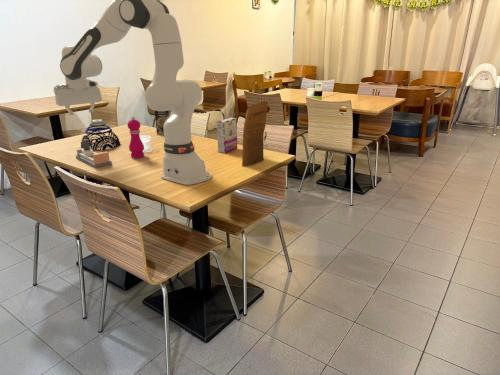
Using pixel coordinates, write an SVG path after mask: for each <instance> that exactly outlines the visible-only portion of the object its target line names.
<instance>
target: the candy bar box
mask: <svg viewBox="0 0 500 375" xmlns="http://www.w3.org/2000/svg"><path fill="white" fill-rule="evenodd" d="M237 124H238V122H237V118H235V117H227V118H223V119H220V120H217V121H216V133H217V135H216V136H217V152H218V153H220V154H228V153H229V152H232V151H235V150H237V149H238V129H237V128H238V127H237V126H238V125H237Z"/></svg>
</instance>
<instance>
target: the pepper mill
mask: <svg viewBox="0 0 500 375" xmlns="http://www.w3.org/2000/svg"><path fill="white" fill-rule="evenodd" d="M130 119H131V120H129V121H128V122H127V128H128V129H129V134H130V143H129V145H128V150H129V152H130V158H133V159H141V158H144V157H145V153H144V152H143V151H144V150H145V145H144V143H143V141H142V139H141V136H140V133H141V130H140V128H141V122H140V121H139V120H137V119H136V117H135V116H131V118H130Z"/></svg>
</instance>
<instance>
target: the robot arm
mask: <svg viewBox="0 0 500 375" xmlns="http://www.w3.org/2000/svg"><path fill="white" fill-rule="evenodd" d="M132 27H134V28H138V29H142V30H144V29H145V30H148V31H149V33H150V35H151V41H152V48H153V55H154V64H155V65H154V66H155V68H154V75H153V77H152V80H151V82H150V84H149V85H148V86H147V88H146V89H145V92H144V100H145V103H146V105H147V106H148V107H149V109H151V110H152V111H154V112H155V111H168V110H172V112H171V115H170V117H169V118H168V119H167V120H166V121H165V123H164V126H163V127H164V136H163V137H164V142H163V149H164V152H165V153H164V156H163V158H162V174H161V176H160V178H161V179H163V180H167V181H170V182H173V183H177V184H180V185H184V186H188V185H189V186H190V185H195V184H200V183H203V182H206V181H209V180H210V179H212V177H213V175H212V174H211V173H209V172H208V171H207V168H206V164H205V161H204V159H202V158H201V157H200V156H199V155H198V154H197V152H196V151H195V148H196V145H194V143H193V141H192V118H193V114H194V112H195V109H196V108H197V105H199V103H200V102H201V101H202V98H203V90H202V87H201V86H200V84H199V83H198V82H196V81H194V80H187V79H183V80H177V75H178V72H179V71H180V70H181V69H182V68H183V67H184V63H185V60H184V58H185V57H184V53H183V52H184V51H183V45H182V38H181V34H180V29H179V26H178V22H177V20H176V17H175V16H173V15H171V14H170V11H169V8H168V6H166V4H165V3H163V2H162V1H161V0H112V1H111V2H110V4H109V5H108V6H107V7H106V9H105V11H104V12H103V13H102V15H101V17H100V18H99V19H98V20H97V21H96V22H95V23H94V24H93V25H92V26H91V27H90V28H88V30H87V31H86V32H85V33H84V34H83V35H82V36H81V38H80V39H79V40H78V41H77V43H76V44H75V45H67V46H65V47H63V48H62V50H61V60H60V62H59V68H60V72H61V73H62V74H63V75H64V79H65V84H64V83H63V84H56V85H55V86H54V87H53V93H54V95H55V96H54V98H55V100H54V101H55V104H56V105H57V106H58V107H64V108H65V109H66V110H67V111H68V115H69V116H73V115H74V111H73V110H71V109H70V108H71V106H76V105H85V104H90V108H88V112H89V113H90V114H92V113H94V109H95V105H96V104H95V103H100V102H102V94H101V90H100V87H99V82H97V81H94V80H91V79H87V78H94V77H97V76H100V75H101V73H102V71H103V63H102V60H101V59H100V57H98V56H97V54H93V52H94V51H95V50H96V49H98V48H100V47H103V46H107V45H111V44H115V43H118V42H120V41H122V39H124V38H125V37H126V36H127V34H128V33H129V31H130V30H131V29H132Z"/></svg>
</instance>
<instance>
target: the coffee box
mask: <svg viewBox="0 0 500 375" xmlns="http://www.w3.org/2000/svg"><path fill="white" fill-rule="evenodd" d="M171 112H172V110H168V111H155V110H154V116H155V128H156V135H162V136H163V135H164V127H163V126H164V123H165V121H166V120H167V119H168V118H169V117H170V115H171Z"/></svg>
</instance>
